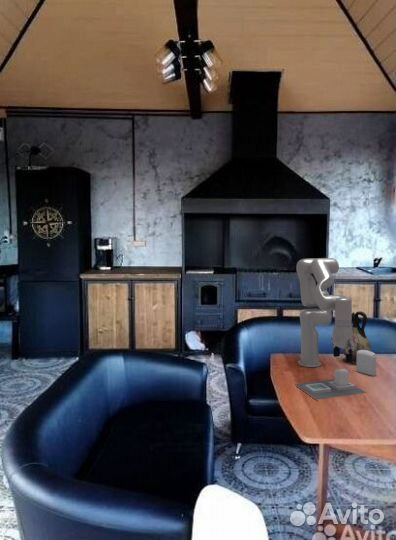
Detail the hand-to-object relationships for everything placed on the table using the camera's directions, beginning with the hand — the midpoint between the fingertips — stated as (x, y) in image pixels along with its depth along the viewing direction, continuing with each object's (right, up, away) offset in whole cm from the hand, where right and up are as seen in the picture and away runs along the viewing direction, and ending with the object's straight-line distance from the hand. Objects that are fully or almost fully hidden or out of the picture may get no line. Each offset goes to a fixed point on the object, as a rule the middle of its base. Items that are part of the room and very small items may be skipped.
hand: (342, 359), depth 206 cm
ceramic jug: (+23, -11, +43) cm, 50 cm away
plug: (0, -14, +2) cm, 14 cm away
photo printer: (+20, -13, +24) cm, 33 cm away
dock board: (-6, -15, 0) cm, 16 cm away
